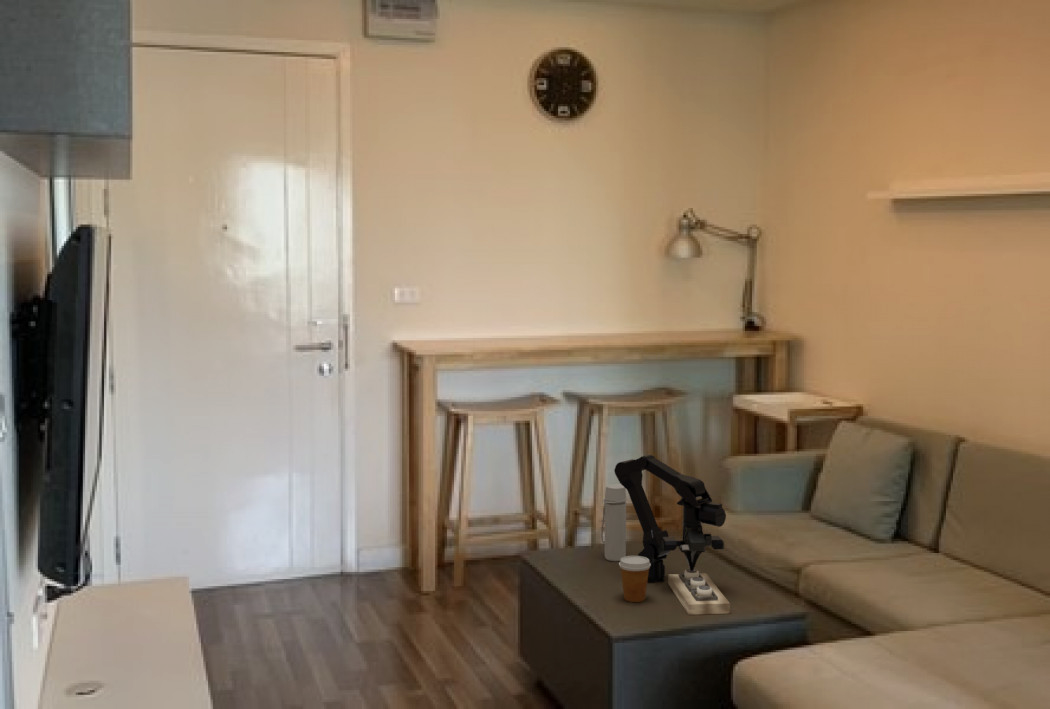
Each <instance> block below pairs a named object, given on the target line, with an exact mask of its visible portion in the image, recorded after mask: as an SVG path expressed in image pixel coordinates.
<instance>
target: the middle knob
mask: <svg viewBox="0 0 1050 709" xmlns="http://www.w3.org/2000/svg"><path fill="white" fill-rule="evenodd" d="M702 585H705V579H704V578H701V577H693V578H691V579H690V587H691V588H697V587H698V586H702Z"/></svg>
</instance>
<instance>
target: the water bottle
mask: <svg viewBox="0 0 1050 709" xmlns="http://www.w3.org/2000/svg"><path fill="white" fill-rule="evenodd" d="M626 490H627V489H626V488H625V487H624V486H623V485H622V484H620V483H619V484H616V483H614V484H613V483H611V484H607V485H605V490H604V492H605V493H604V498H603V499H602V503H603V505H604V506H603V514H602V522H601V523H602V524H601V534H600V540H601V543H603V544H604V558H605V559H606V560H607V561H609V562H620V560H621V558H622V557H625V556H627V554H626V552H627V550H626V549H627V503H626V502H627V492H626ZM603 534H604V536H603Z"/></svg>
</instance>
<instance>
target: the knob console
mask: <svg viewBox="0 0 1050 709" xmlns="http://www.w3.org/2000/svg"><path fill="white" fill-rule="evenodd" d="M699 577H701V578H704V579H705V586H709V587H711V588H712V597H697V588H691V587H690V580H685V579H684V573H678V574H677V573H673V574H671V573H669V574H668V575H667V584H668V586H669V587H670V589H671V590H672V591H673V593H674V595H675V597H676V598H677V599H678V600H679V603H680V604H681V605H682V607H683V608H684V610H685V612H686V613H687V615H689V616H690V615H694V616H695V615H720V614H721V615H723V614H725V615H726V614H730V612H731V611H730V610H731V604H730V602H729V600H728V599H727V598H726V597H725V595H724V594H723V593H722V592H721V590H720V589H719V588H718V587H717V585H716V584H715V583H714V582H713V580H712V579H711V577H709V575H708V574H707V573H703V572H702V573H700V572H699Z"/></svg>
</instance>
